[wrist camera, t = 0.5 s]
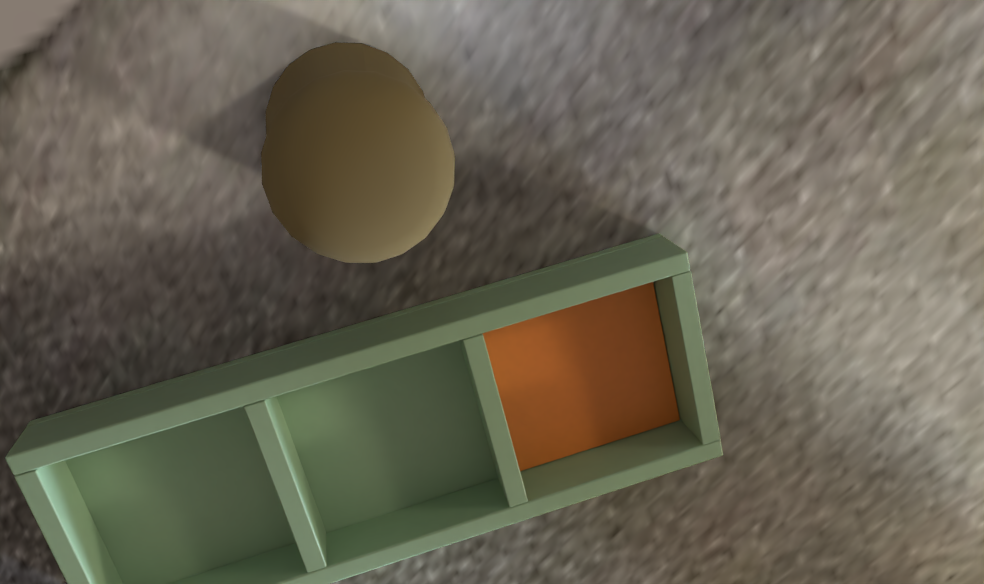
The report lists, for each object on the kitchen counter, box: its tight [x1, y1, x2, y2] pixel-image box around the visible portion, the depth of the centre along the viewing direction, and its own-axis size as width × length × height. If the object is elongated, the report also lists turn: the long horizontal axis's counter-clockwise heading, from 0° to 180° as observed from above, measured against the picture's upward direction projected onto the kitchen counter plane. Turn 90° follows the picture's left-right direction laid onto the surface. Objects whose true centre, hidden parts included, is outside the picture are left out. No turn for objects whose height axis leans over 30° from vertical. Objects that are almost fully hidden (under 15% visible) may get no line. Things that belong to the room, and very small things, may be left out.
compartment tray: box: [5, 234, 723, 584], centre depth 35 cm, size 9×26×3 cm, turn 104°
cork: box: [261, 42, 455, 263], centre depth 28 cm, size 6×6×11 cm
